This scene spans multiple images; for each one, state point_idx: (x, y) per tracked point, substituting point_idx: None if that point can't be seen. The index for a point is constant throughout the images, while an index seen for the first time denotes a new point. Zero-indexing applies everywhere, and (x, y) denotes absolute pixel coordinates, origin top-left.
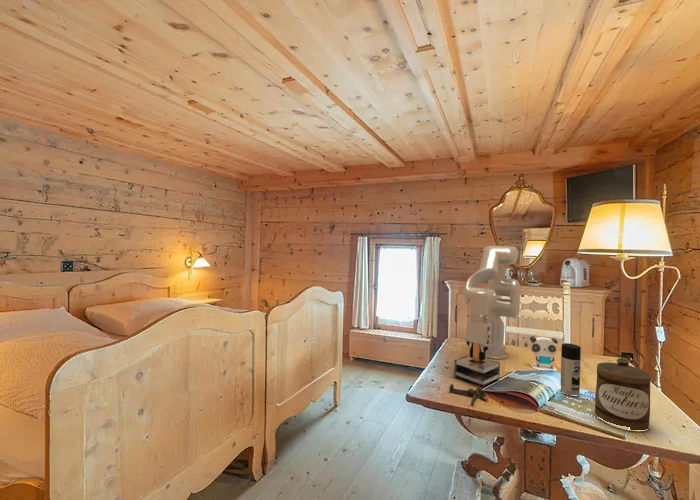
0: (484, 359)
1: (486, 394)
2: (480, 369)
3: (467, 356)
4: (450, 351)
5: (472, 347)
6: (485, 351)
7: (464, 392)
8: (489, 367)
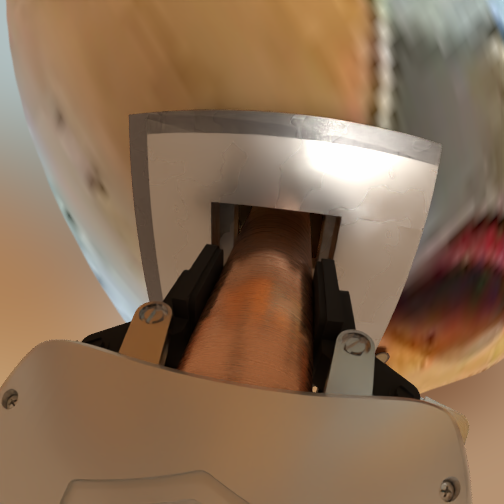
0: (333, 261)
1: (382, 355)
2: None
3: (144, 204)
4: (24, 7)
5: None
6: (357, 342)
7: (313, 386)
8: (391, 313)
